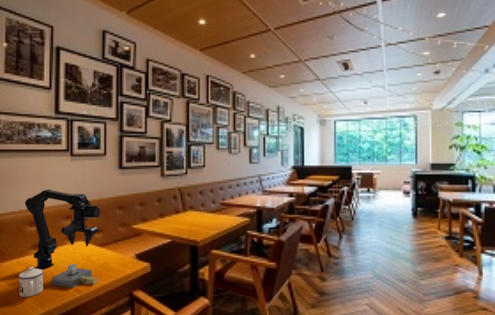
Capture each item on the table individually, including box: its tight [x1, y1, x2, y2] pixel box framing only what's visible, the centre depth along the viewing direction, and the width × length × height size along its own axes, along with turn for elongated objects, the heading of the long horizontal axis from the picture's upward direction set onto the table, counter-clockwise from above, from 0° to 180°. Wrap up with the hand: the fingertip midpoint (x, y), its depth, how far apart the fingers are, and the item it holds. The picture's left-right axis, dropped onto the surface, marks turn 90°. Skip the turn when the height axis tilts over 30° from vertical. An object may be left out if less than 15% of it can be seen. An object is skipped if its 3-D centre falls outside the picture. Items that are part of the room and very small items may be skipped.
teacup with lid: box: [18, 266, 44, 298], centre depth 131 cm, size 12×9×12 cm
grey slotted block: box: [51, 267, 98, 289], centre depth 143 cm, size 19×12×4 cm, turn 79°
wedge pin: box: [67, 263, 77, 276], centre depth 144 cm, size 3×3×8 cm
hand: (79, 245), depth 159 cm, fingers open, 9 cm apart
